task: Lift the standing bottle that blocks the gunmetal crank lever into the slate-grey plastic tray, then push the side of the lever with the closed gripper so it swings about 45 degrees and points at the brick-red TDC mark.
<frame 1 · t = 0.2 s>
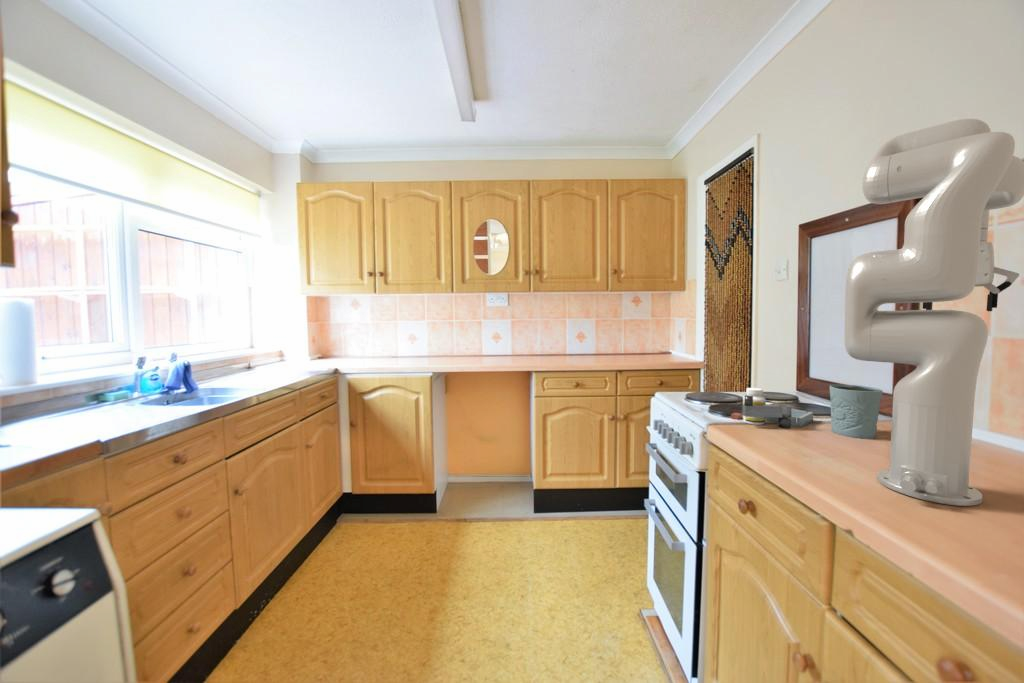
hand: (957, 311, 93), 31 cm above the table, tool pointing down, fingers open, 9 cm apart
supplement bottle: (753, 423, 111), on the table
crank post: (784, 427, 106), on the table
embossed green planter pot: (852, 434, 100), on the table
crank lever: (767, 406, 106), point 6 cm above the table, hinge at 0.0°
tray: (786, 420, 112), on the table
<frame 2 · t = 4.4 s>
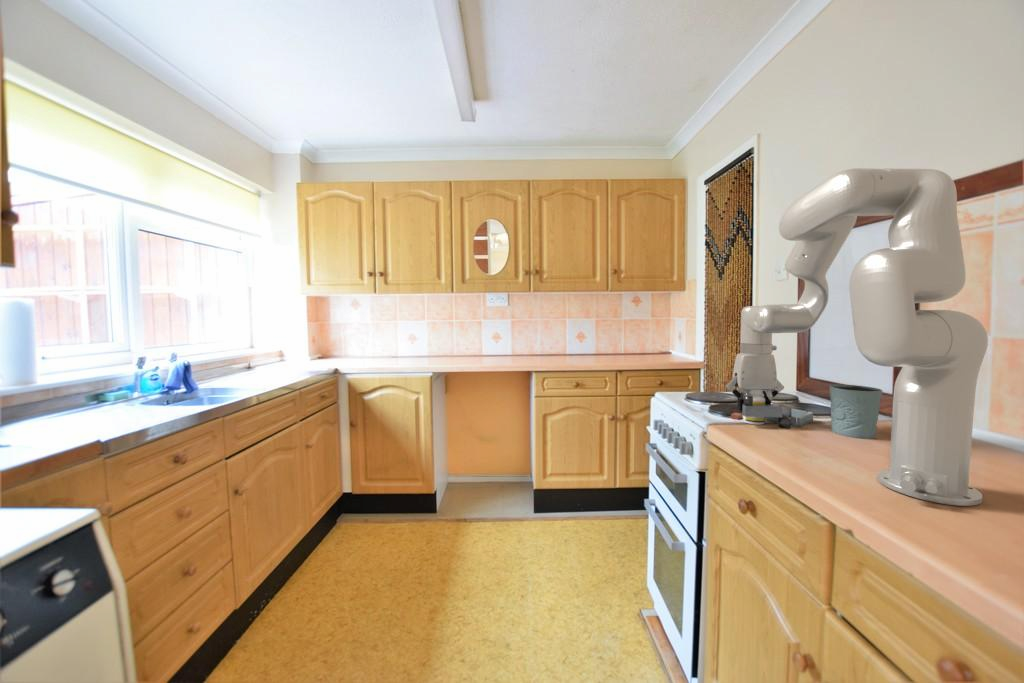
hand: (753, 412, 110), 3 cm above the table, tool pointing down, fingers closed on supplement bottle, 5 cm apart
supplement bottle: (753, 423, 111), on the table, touching gripper
everything else where it was.
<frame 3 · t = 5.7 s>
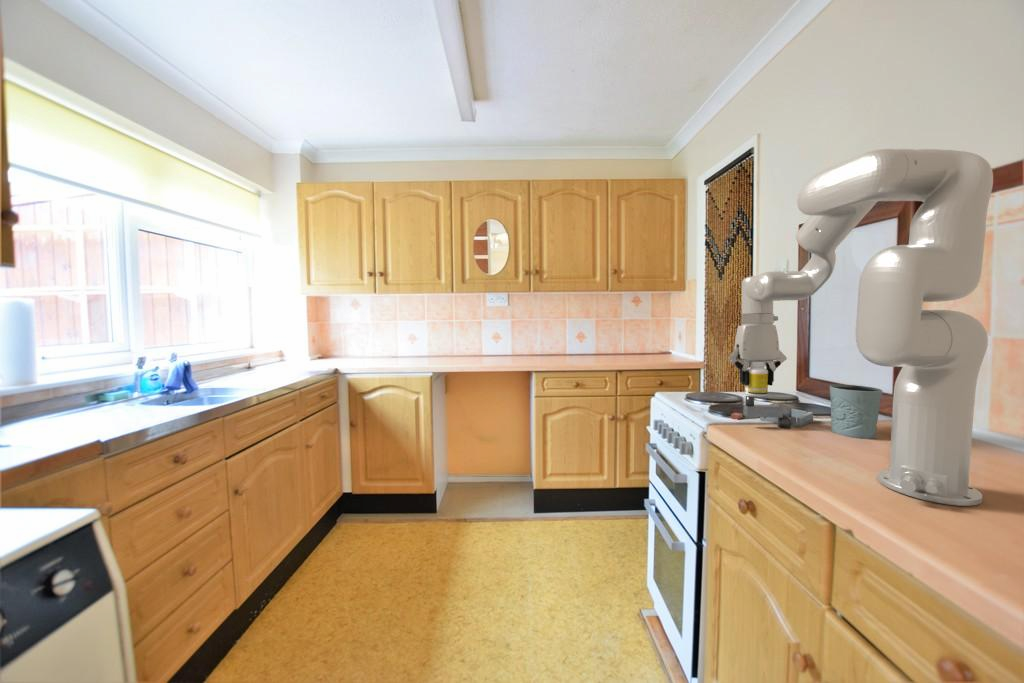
hand: (756, 384, 109), 11 cm above the table, tool pointing down, fingers closed on supplement bottle, 5 cm apart
supplement bottle: (756, 395, 109), point 8 cm above the table, touching gripper
crank lever: (768, 406, 106), point 6 cm above the table, hinge at 4.0°
everything else where it was.
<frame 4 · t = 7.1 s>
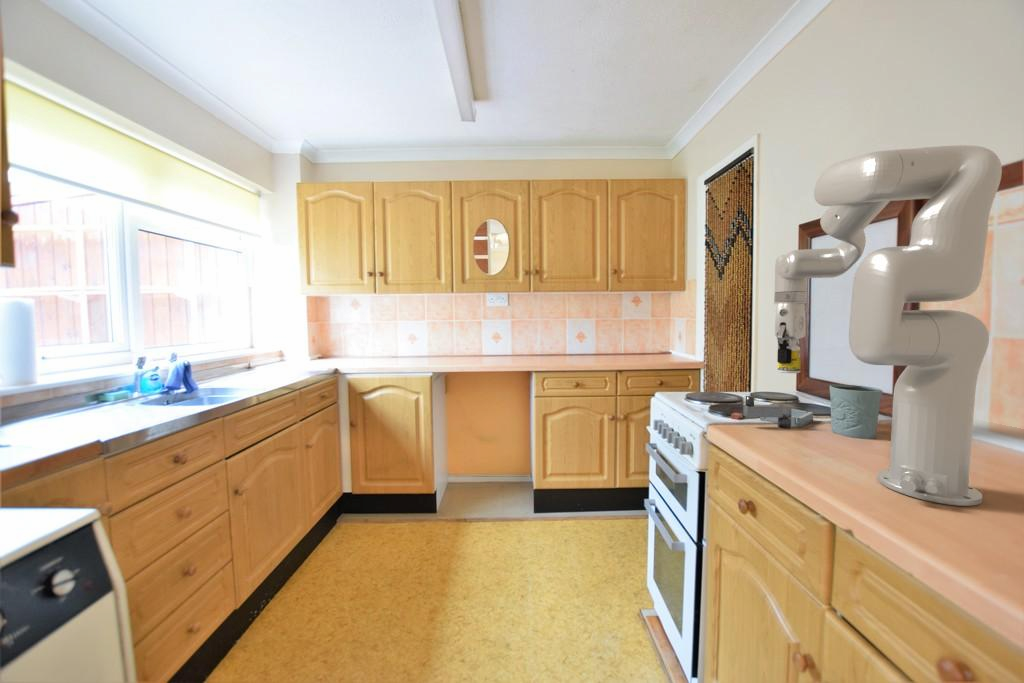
hand: (788, 361, 111), 17 cm above the table, tool pointing down, fingers closed on supplement bottle, 5 cm apart
supplement bottle: (789, 373, 111), point 14 cm above the table, touching gripper
everything else where it was.
when the fingers open (5 cm above the table, at t = 9.8 s): supplement bottle drops 1 cm, resting on tray.
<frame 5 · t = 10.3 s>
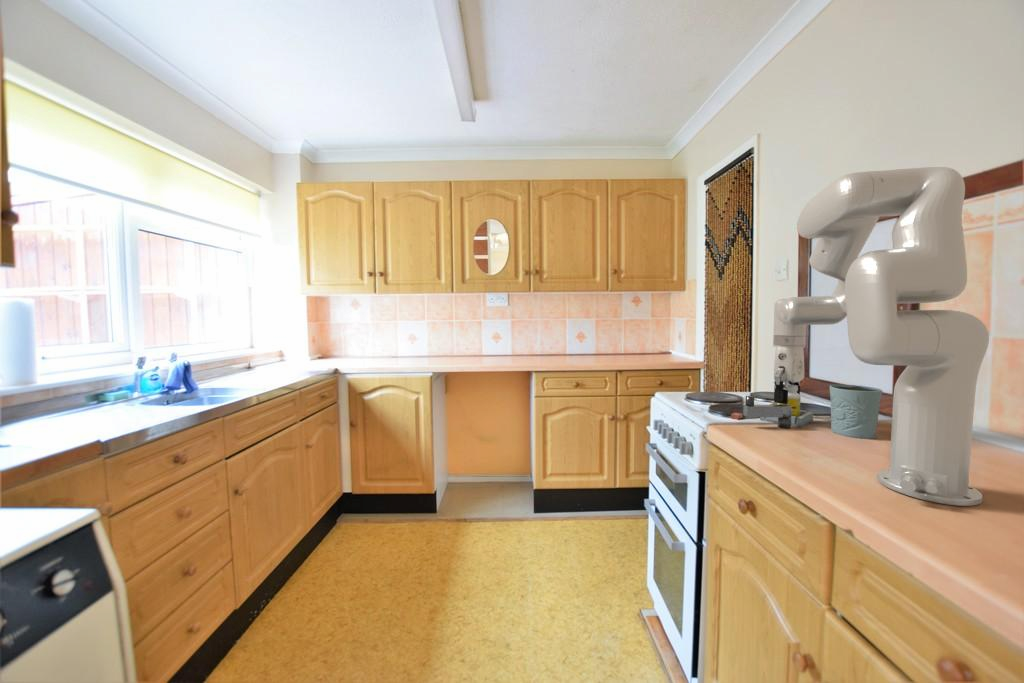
hand: (787, 400, 112), 6 cm above the table, tool pointing down, fingers open, 9 cm apart
supplement bottle: (787, 419, 112), resting on tray
everything else where it was.
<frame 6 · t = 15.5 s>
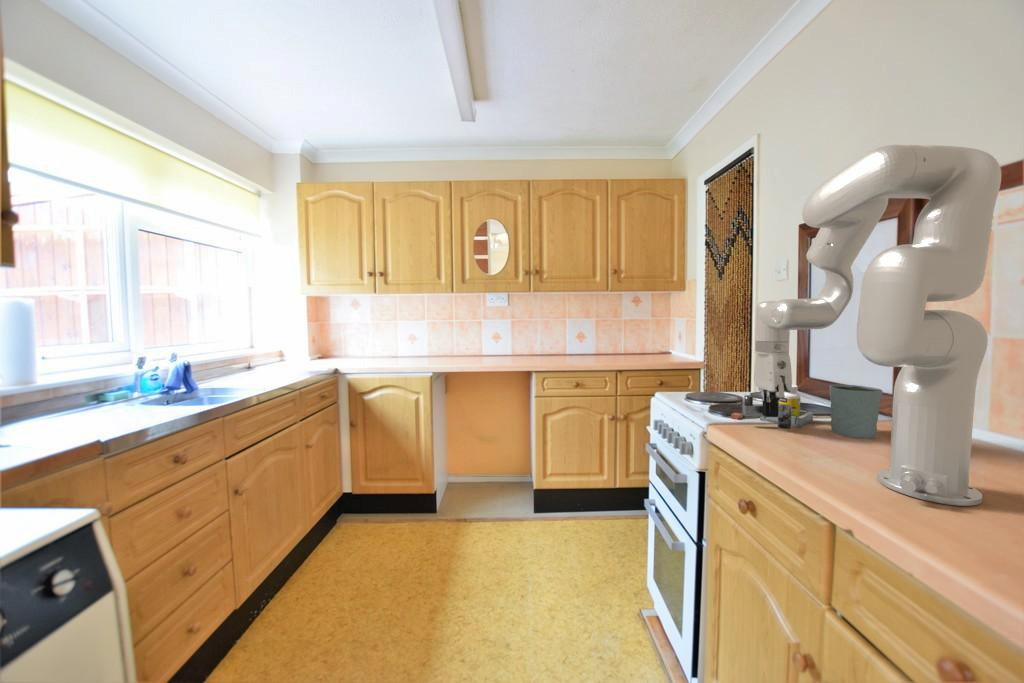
hand: (770, 416, 103), 4 cm above the table, tool pointing down, fingers closed
crank lever: (767, 406, 106), point 6 cm above the table, hinge at -0.4°, touching gripper
everything else where it was.
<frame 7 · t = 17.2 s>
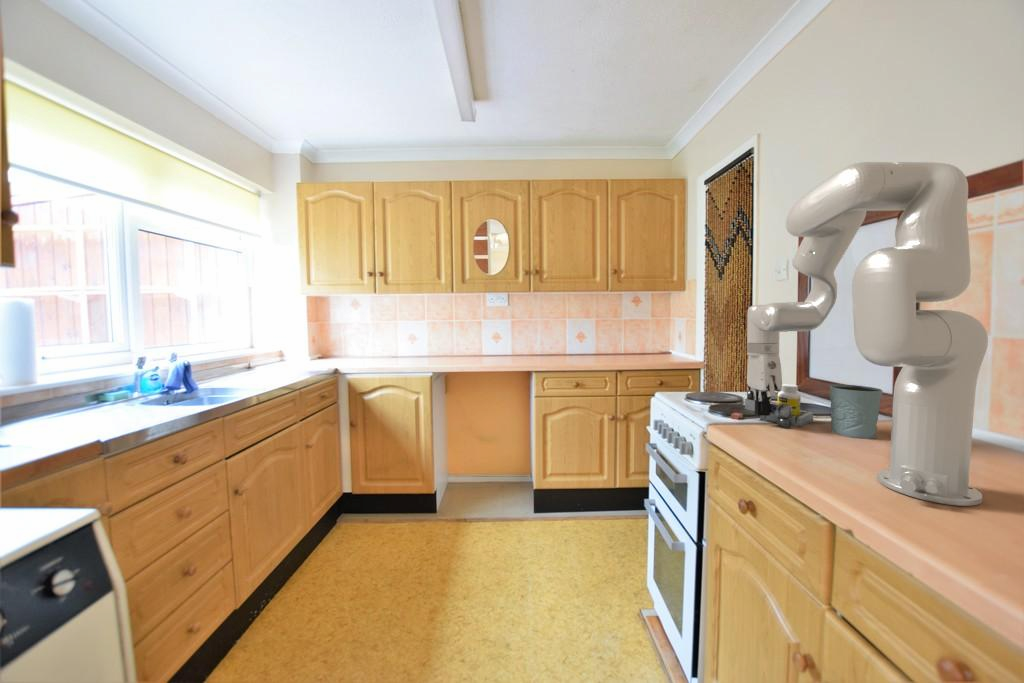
hand: (762, 414, 108), 3 cm above the table, tool pointing down, fingers closed
crank lever: (768, 403, 109), point 6 cm above the table, hinge at -55.9°, touching gripper
everything else where it was.
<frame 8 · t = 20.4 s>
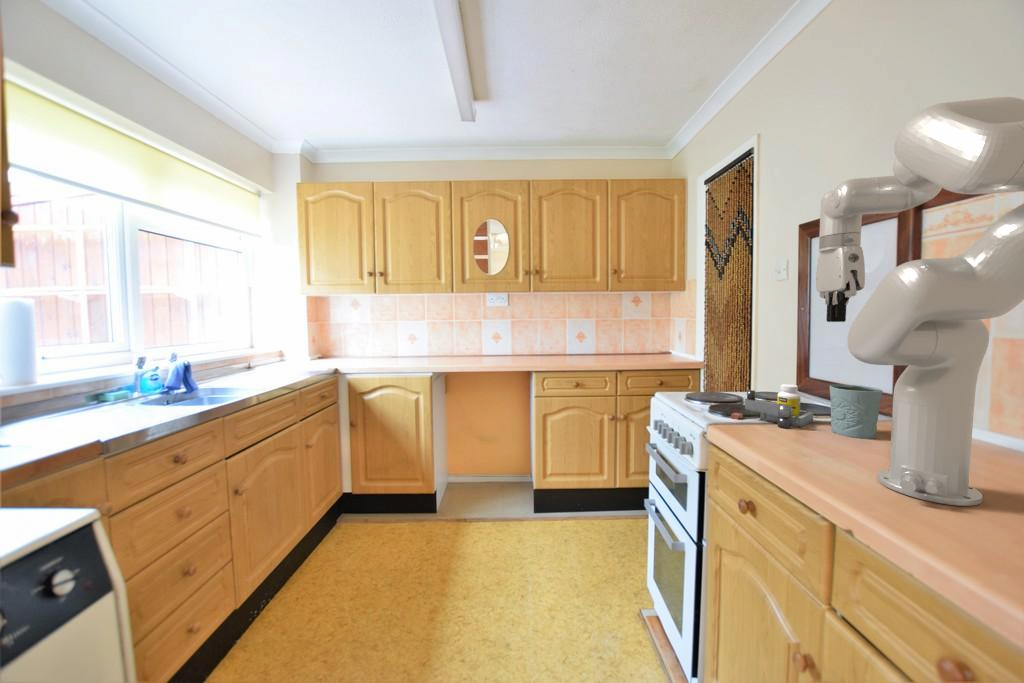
hand: (835, 321, 93), 29 cm above the table, tool pointing down, fingers closed
crank lever: (768, 403, 109), point 6 cm above the table, hinge at -55.9°
everything else where it was.
at the end: supplement bottle 0.5 cm off-centre on the tray, point 0.4 cm above the tray's base; supplement bottle tilted 0°; crank lever at -56° (first picture: +0°) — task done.
